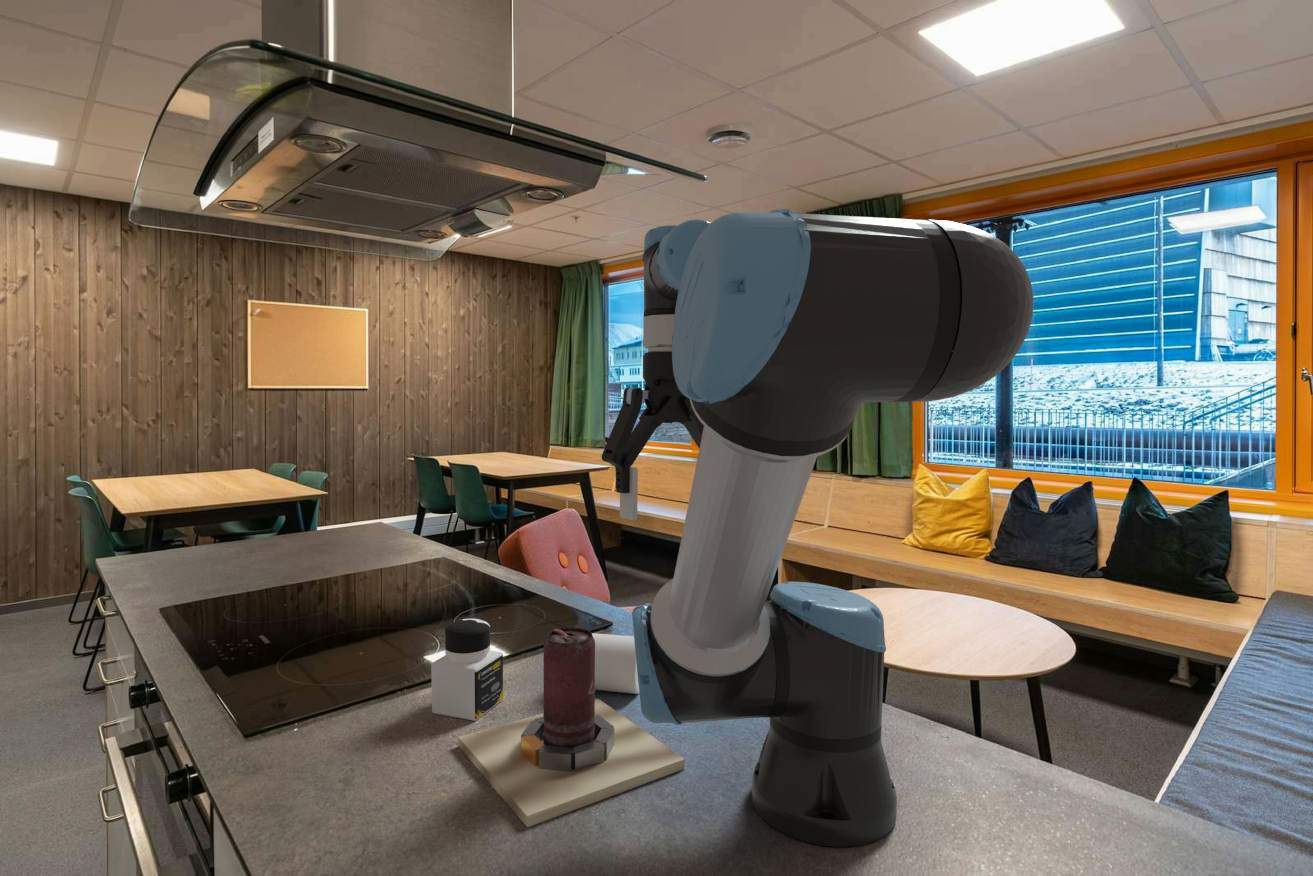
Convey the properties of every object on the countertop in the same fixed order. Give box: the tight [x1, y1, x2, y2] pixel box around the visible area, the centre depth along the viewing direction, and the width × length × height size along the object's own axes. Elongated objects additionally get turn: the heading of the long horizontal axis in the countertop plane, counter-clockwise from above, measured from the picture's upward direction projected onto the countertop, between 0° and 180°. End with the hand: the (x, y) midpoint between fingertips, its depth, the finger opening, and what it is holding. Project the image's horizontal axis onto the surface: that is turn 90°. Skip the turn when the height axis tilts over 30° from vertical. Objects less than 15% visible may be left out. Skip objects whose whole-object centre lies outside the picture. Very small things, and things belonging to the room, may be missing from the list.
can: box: [543, 627, 596, 748], centre depth 86 cm, size 6×6×14 cm
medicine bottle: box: [430, 618, 504, 722], centre depth 99 cm, size 7×7×12 cm
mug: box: [591, 632, 640, 695], centre depth 108 cm, size 12×10×8 cm
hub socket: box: [521, 715, 614, 772], centre depth 86 cm, size 10×10×2 cm
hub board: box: [457, 697, 686, 828], centre depth 86 cm, size 20×20×1 cm
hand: (670, 513), depth 94 cm, fingers open, 13 cm apart
